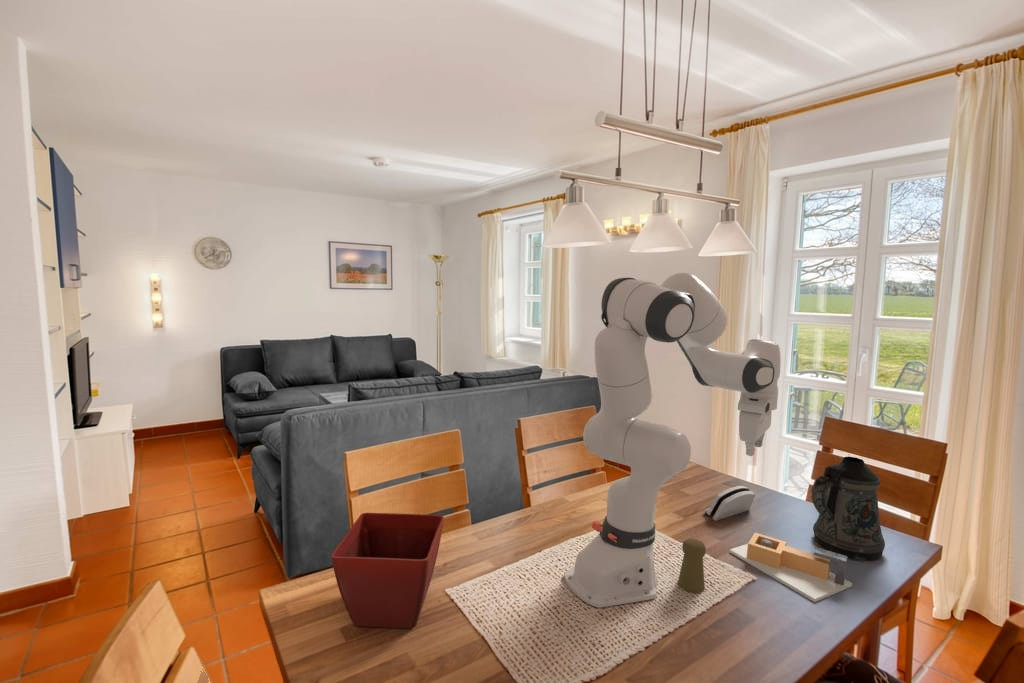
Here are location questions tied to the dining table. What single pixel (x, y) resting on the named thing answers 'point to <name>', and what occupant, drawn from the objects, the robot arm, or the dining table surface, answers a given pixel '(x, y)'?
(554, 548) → the dining table surface
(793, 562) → the link
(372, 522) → the plant pot
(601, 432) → the robot arm
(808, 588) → the board
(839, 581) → the bracket
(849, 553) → the beer stein
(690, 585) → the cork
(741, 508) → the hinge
